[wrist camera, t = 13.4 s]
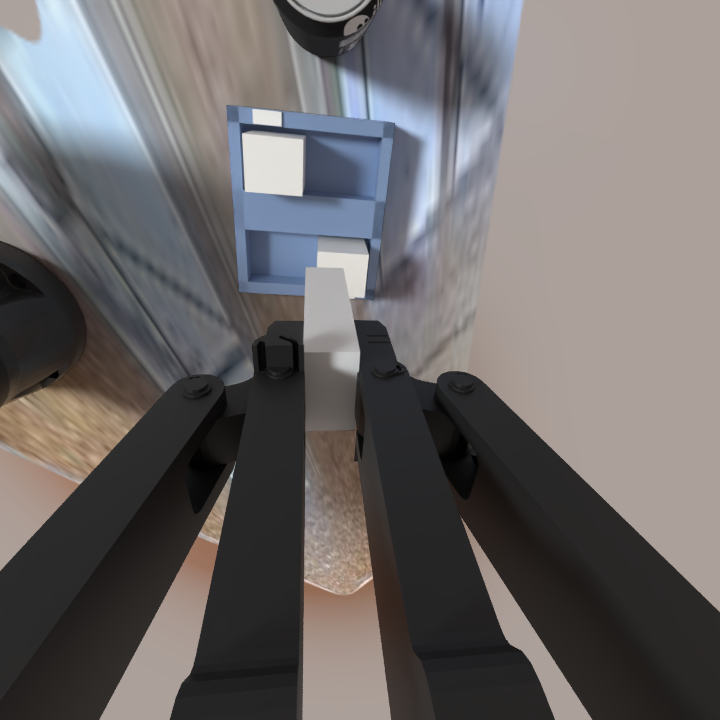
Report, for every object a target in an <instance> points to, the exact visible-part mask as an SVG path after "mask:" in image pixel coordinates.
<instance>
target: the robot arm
mask: <svg viewBox="0 0 720 720" xmlns="http://www.w3.org/2000/svg"><path fill="white" fill-rule="evenodd" d="M85 343H86V328H85V323H84V319H83V316H82V313H81V311H80V308H79V306H78V304H77V303H76V301H75V299H74V298H73V296H72V295H71V293H70V292H69V291H68V289H67V288H66V287H65V286H64V284H63V283H62V282H61V281H60V280H59V279H58V278H57V277H56V276H55V275H54V274H53V273H52V272H51V271H49V270H48V269H47V268H46V267H45V266H43V265H42V264H40V263H39V262H38V261H36V260H35V259H33V258H32V257H30V256H28V255H27V254H25V253H23V252H21V251H19V250H18V249H15V248H13V247H11V246H9V245H6V244H4V243H1V242H0V407H1V406H3V405H5V404H8V403H10V402H12V401H15V400H17V399H19V398H22V397H24V396H26V395H29V394H31V393H33V392H36V391H38V390H41V389H43V388H45V387H47V386H49V385H51V384H53V383H55V382H56V381H58V380H59V379H60V378H62V377H63V376H64V375H65V374H66V373H67V372H68V371H69V370H70V369H71V368H72V367H73V366H74V365H75V364H76V362H77V361H78V360H79V358H80V357H81V355H82V353H83V350H84V347H85ZM252 352H253V363H254V376H253V377H252V378H251V379H249V380H247V381H245V382H242V383H239V384H235V385H230V386H224V383H223V381H222V380H221V379H219V378H218V377H216V376H212V375H193V376H188V377H186V378H183V379H181V380H179V381H177V382H176V383H175V384H173V385H172V386H171V387H170V388H169V389H168V390H167V391H166V392H165V393H164V395H163V396H162V397H161V398H160V399H159V400H158V401H157V402H156V403H155V404H154V405H153V406H152V408H151V409H150V410H149V411H148V412H147V413H146V414H145V415H144V416H143V417H142V418H141V419H140V420H139V422H138V423H137V424H136V425H135V426H134V427H133V428H132V429H131V430H130V431H129V432H128V433H127V435H126V436H125V437H124V438H123V439H122V440H121V441H120V442H119V443H118V444H117V445H116V446H115V448H114V449H113V450H112V451H111V452H110V453H109V454H108V455H107V456H106V457H105V458H104V459H103V460H102V462H101V463H100V464H99V465H98V466H97V467H96V468H95V469H94V470H93V471H92V472H91V473H90V475H89V476H88V477H87V478H86V479H85V480H84V481H83V482H82V483H81V484H80V485H79V486H78V488H77V489H76V490H75V491H74V492H73V493H72V494H71V495H70V496H69V497H68V498H67V499H66V501H65V502H64V503H63V504H62V505H61V506H60V507H59V508H58V509H57V510H56V511H55V512H54V514H53V515H52V516H51V517H50V518H49V519H48V520H47V521H46V522H45V523H44V524H43V525H42V527H41V528H40V529H39V530H38V531H37V532H36V533H35V534H34V535H33V536H32V537H31V538H30V539H29V541H28V542H27V543H26V544H25V545H24V546H23V547H22V548H21V549H20V550H19V551H18V552H17V553H16V555H15V556H14V557H13V558H12V559H11V560H10V561H9V562H8V563H7V564H6V565H5V567H4V568H3V569H2V570H1V571H0V720H99V719H100V717H101V715H102V713H103V711H104V710H105V708H106V706H107V704H108V702H109V700H110V699H111V697H112V695H113V693H114V691H115V689H116V687H117V685H118V684H119V682H120V680H121V678H122V676H123V674H124V672H125V670H126V669H127V667H128V665H129V663H130V661H131V659H132V657H133V656H134V653H135V652H136V650H137V648H138V646H139V644H140V642H141V641H142V639H143V637H144V635H145V633H146V631H147V629H148V627H149V626H150V624H151V622H152V620H153V618H154V616H155V614H156V613H157V611H158V609H159V607H160V605H161V603H162V601H163V600H164V597H165V596H166V594H167V592H168V590H169V588H170V586H171V585H172V583H173V581H174V579H175V577H176V575H177V573H178V572H179V570H180V568H181V566H182V564H183V562H184V560H185V558H186V556H187V555H188V553H189V551H190V549H191V547H192V545H193V543H194V541H195V540H196V538H197V536H198V534H199V532H200V530H201V529H202V527H203V525H204V523H205V521H206V519H207V517H208V515H209V514H210V512H211V510H212V508H213V506H214V504H215V502H216V501H217V499H218V497H219V495H220V493H221V491H222V489H223V487H224V486H225V484H226V482H227V480H228V478H229V476H230V474H231V473H232V471H233V469H234V465H235V469H234V473H233V478H232V483H231V488H230V493H229V498H228V503H227V507H226V512H225V517H224V522H223V527H222V532H221V537H220V541H219V546H218V551H217V556H216V561H215V566H214V571H213V576H212V580H211V585H210V590H209V595H208V600H207V605H206V609H205V615H204V619H203V624H202V629H201V634H200V639H199V644H198V648H197V653H196V658H195V661H194V666H193V668H192V671H191V673H190V675H189V676H188V677H187V678H186V679H185V681H184V682H183V683H182V685H181V687H180V689H179V691H178V694H177V696H176V699H175V703H174V706H173V710H172V714H171V718H170V720H302V698H303V697H302V696H303V695H302V694H303V615H304V614H303V612H304V529H305V431H346V430H355V420H356V427H357V431H356V445H355V458H354V461H358V464H359V472H360V480H361V488H362V495H363V503H364V511H365V519H366V526H367V534H368V542H369V550H370V557H371V565H372V573H373V581H374V588H375V596H376V604H377V611H378V619H379V627H380V635H381V642H382V650H383V658H384V666H385V674H386V681H387V689H388V697H389V705H390V713H391V720H555V719H554V716H553V713H552V711H551V708H550V706H549V704H548V701H547V698H546V696H545V693H544V691H543V688H542V686H541V683H540V681H539V679H538V677H537V675H536V672H535V670H534V668H533V666H532V664H531V662H530V661H529V660H528V659H527V657H526V656H525V655H524V653H523V652H522V651H521V650H519V649H517V648H515V647H513V646H512V645H510V644H509V643H508V641H507V640H506V639H505V637H504V634H503V632H502V630H501V628H500V625H499V622H498V619H497V616H496V614H495V611H494V608H493V605H492V602H491V600H490V597H489V594H488V591H487V589H486V586H485V583H484V580H483V577H482V575H481V572H480V569H479V566H478V564H477V561H476V558H475V555H474V553H473V550H472V547H471V544H470V541H469V539H468V536H467V533H466V530H465V528H464V525H463V522H462V520H461V517H462V519H463V520H464V522H465V523H466V525H467V526H468V528H469V529H470V531H471V532H472V534H473V536H474V537H475V539H476V540H477V542H478V543H479V545H480V546H481V548H482V550H483V551H484V553H485V554H486V556H487V557H488V559H489V560H490V562H491V563H492V565H493V566H494V568H495V570H496V571H497V573H498V574H499V576H500V577H501V579H502V580H503V582H504V584H505V585H506V587H507V588H508V590H509V591H510V593H511V594H512V596H513V597H514V599H515V601H516V602H517V604H518V605H519V607H520V608H521V610H522V611H523V613H524V615H525V616H526V618H527V619H528V621H529V622H530V624H531V625H532V627H533V628H534V630H535V631H536V633H537V635H538V636H539V638H540V639H541V641H542V642H543V644H544V645H545V647H546V649H547V650H548V652H549V653H550V655H551V656H552V658H553V659H554V661H555V662H556V664H557V666H558V667H559V669H560V670H561V672H562V673H563V675H564V676H565V678H566V679H567V681H568V683H569V684H570V685H571V687H572V689H573V690H574V692H575V693H576V695H577V696H578V698H579V700H580V701H581V703H582V704H583V706H584V707H585V709H586V710H587V712H588V714H589V715H590V717H591V718H592V720H720V612H719V611H718V610H717V609H716V608H715V607H714V606H713V605H712V604H711V603H710V602H709V601H708V600H707V599H706V598H705V597H703V596H702V594H701V593H699V592H698V591H697V590H696V589H695V588H694V587H693V586H692V585H691V584H690V583H689V582H688V581H687V580H686V579H685V578H684V577H683V576H682V575H681V574H680V573H679V572H678V571H677V570H676V569H675V568H674V567H673V566H672V565H671V564H670V563H668V561H667V560H665V559H664V557H662V556H661V555H660V554H659V553H658V552H657V551H656V550H655V549H654V548H653V547H652V546H651V545H650V544H649V543H648V542H647V541H646V540H645V539H644V538H643V537H642V536H641V535H640V534H639V533H638V532H637V531H636V530H635V529H634V528H633V527H632V526H631V525H630V524H629V523H628V522H626V521H625V520H624V519H623V518H622V517H621V516H620V515H619V514H618V513H617V512H616V511H615V510H614V509H613V508H612V507H611V506H610V505H609V504H608V503H607V502H606V501H605V500H604V499H603V498H602V497H601V496H600V495H599V494H598V493H597V492H596V491H595V490H594V489H593V488H592V487H591V486H589V484H587V483H586V482H585V481H584V480H583V479H582V478H581V477H580V476H579V475H578V474H577V473H576V472H575V471H574V470H573V469H572V468H571V467H570V466H569V465H568V464H567V463H566V462H565V461H564V460H563V459H562V458H561V457H560V456H559V455H558V454H557V453H556V452H555V451H554V450H552V448H550V447H549V446H548V445H547V444H546V443H545V442H544V441H543V440H542V439H541V438H540V437H539V436H538V435H537V434H536V433H535V432H534V431H533V430H532V429H531V428H530V427H529V426H528V425H527V424H526V423H525V422H524V421H523V420H522V419H521V418H520V417H519V416H518V415H517V414H516V413H514V412H513V411H512V410H511V409H510V408H509V407H508V406H507V405H506V404H505V403H504V402H503V401H502V400H501V399H500V398H499V397H498V396H497V395H496V394H495V393H494V392H493V391H492V390H491V389H490V388H489V387H488V386H487V385H486V384H485V383H483V382H482V381H481V380H480V379H479V378H477V377H476V376H473V375H471V374H468V373H465V372H460V371H451V372H446V373H443V374H441V375H440V376H439V377H438V379H437V384H436V383H430V382H425V381H421V380H417V379H414V378H412V377H410V375H409V372H408V370H407V369H406V367H405V366H404V365H402V364H401V363H399V362H397V359H396V356H395V353H394V350H393V347H392V344H391V341H390V338H389V337H388V332H387V329H386V327H385V326H383V325H382V324H381V323H380V322H379V321H365V320H354V319H353V314H352V309H351V304H350V299H349V294H348V289H347V284H346V279H345V274H344V269H343V268H323V267H306V273H305V305H304V321H275V322H274V323H273V324H271V325H270V326H269V327H268V330H267V335H265V336H262V337H260V338H258V339H257V340H255V341H254V343H253V344H252ZM235 462H236V464H235ZM460 515H461V516H460Z"/></svg>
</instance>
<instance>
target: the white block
mask: <svg viewBox="0 0 720 720" xmlns="http://www.w3.org/2000/svg"><path fill="white" fill-rule="evenodd" d="M368 259H369V254H368V250H367V247H366V244H365V241H364V238H354V237H341V236H327V235H318V250H317V267H323V268H343V269H344V274H345V279H346V284H347V289H348V294H349V297H359V298H364V296H365V287H366V278H367V268H368Z"/></svg>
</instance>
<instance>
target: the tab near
mask: <svg viewBox="0 0 720 720" xmlns="http://www.w3.org/2000/svg"><path fill="white" fill-rule="evenodd" d="M242 142H243V161H244V180H245V192H254V193H266V194H278V195H290V196H303V192H304V188H305V167H306V135H300V134H290V133H280V132H270V131H260V130H251V131H248V132H245V133H242Z"/></svg>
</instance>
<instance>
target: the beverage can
mask: <svg viewBox="0 0 720 720" xmlns="http://www.w3.org/2000/svg"><path fill="white" fill-rule="evenodd" d="M273 1H274V4H275V6H276V8H277V10H278V12H279V14H280V16H281V18H282V20H283V22H284V24H285V26H286V28H287V30H288V32H289V33H290V35H291V36H292V37H293V39H294V40H295V41H296V42H297V43H298V44H299V45H300V46H301V47H302V48H304V49H305V50H307V51H308V52H310V53H312V54H315V55H318V56H323V57H334V56H338V55H341V54H344V53H346V52H347V51H349V50H351V49H352V48H353V47H354V46H355V45H356V44H357V43H358V42H359V41H360V40H361V38H362V37H363V35H364V34H365V32H366V30H367V28H368V27H369V25H370V23H371V21H372V19H373V17H374V16H375V14H376V12H377V10H378V8H379V7H380V5H381V3H382V1H383V0H273Z"/></svg>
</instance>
